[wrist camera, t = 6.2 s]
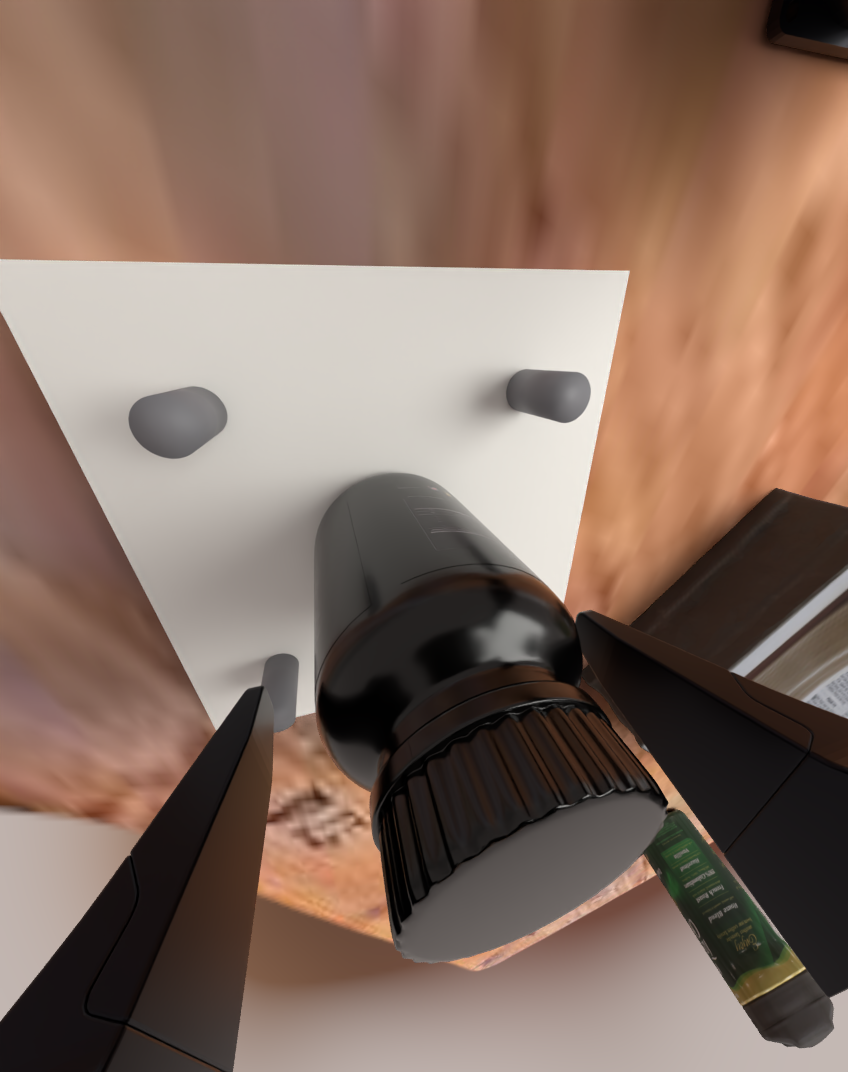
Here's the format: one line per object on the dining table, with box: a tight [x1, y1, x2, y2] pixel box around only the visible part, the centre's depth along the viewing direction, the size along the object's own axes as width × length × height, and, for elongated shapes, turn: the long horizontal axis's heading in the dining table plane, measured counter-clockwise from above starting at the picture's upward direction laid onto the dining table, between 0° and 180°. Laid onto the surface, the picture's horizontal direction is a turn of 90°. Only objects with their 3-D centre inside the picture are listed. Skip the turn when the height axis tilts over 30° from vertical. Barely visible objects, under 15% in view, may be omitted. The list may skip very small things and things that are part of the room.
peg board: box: [0, 259, 630, 733], centre depth 15 cm, size 20×20×4 cm
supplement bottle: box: [314, 473, 668, 964], centre depth 10 cm, size 7×7×12 cm
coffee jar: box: [644, 810, 834, 1048], centre depth 42 cm, size 10×8×19 cm
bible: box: [582, 488, 848, 753], centre depth 27 cm, size 23×27×10 cm
